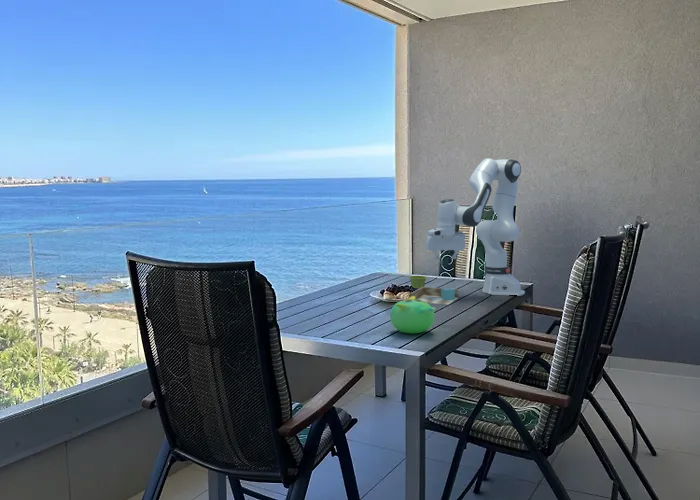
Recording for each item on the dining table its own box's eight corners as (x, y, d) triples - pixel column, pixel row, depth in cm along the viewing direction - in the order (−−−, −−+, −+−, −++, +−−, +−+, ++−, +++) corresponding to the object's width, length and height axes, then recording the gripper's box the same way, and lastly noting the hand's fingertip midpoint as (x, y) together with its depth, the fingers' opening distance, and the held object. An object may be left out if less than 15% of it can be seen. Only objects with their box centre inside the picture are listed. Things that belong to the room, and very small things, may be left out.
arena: (459, 299, 328) (459, 289, 328) (448, 306, 310) (448, 296, 310) (422, 296, 336) (422, 286, 336) (409, 303, 318) (409, 293, 318)
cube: (449, 297, 327) (449, 288, 326) (454, 299, 322) (454, 289, 321) (441, 298, 325) (441, 288, 324) (445, 300, 320) (445, 290, 320)
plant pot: (426, 291, 350) (426, 275, 349) (426, 294, 341) (426, 278, 340) (409, 291, 351) (409, 275, 350) (409, 294, 342) (409, 278, 341)
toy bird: (430, 327, 268) (431, 293, 266) (437, 338, 251) (438, 301, 249) (388, 328, 267) (388, 293, 266) (392, 338, 251) (392, 301, 249)
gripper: (462, 231, 326) (461, 258, 327) (425, 231, 321) (424, 258, 322) (467, 232, 320) (466, 259, 321) (429, 232, 315) (428, 259, 316)
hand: (445, 259), depth 321 cm, fingers open, 8 cm apart
